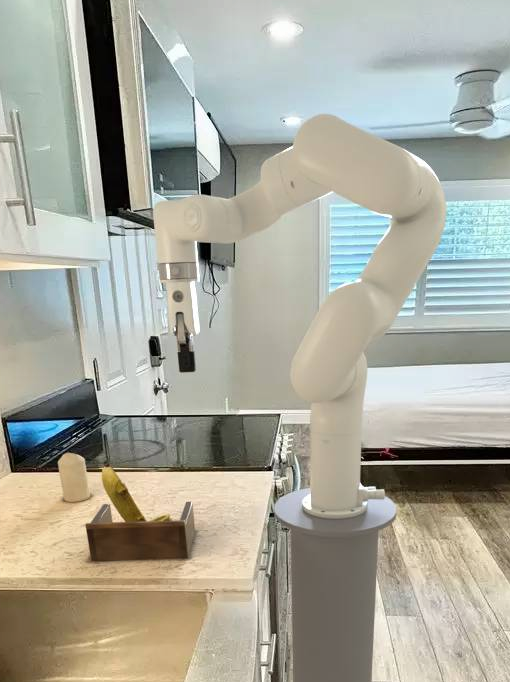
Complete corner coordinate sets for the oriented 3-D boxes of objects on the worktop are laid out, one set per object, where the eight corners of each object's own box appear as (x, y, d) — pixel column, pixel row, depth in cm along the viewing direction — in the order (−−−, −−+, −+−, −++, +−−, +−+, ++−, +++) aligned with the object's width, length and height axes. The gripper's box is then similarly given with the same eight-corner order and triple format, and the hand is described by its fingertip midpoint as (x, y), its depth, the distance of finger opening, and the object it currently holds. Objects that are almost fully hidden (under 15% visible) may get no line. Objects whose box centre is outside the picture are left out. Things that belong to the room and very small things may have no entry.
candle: (95, 495, 126) (89, 452, 123) (76, 503, 122) (68, 459, 118) (78, 491, 129) (71, 449, 125) (58, 499, 125) (50, 455, 121)
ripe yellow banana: (104, 548, 101) (92, 468, 95) (116, 530, 108) (106, 454, 103) (169, 547, 101) (160, 466, 95) (176, 528, 108) (169, 452, 103)
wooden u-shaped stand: (195, 531, 107) (192, 497, 104) (187, 558, 97) (184, 521, 94) (107, 533, 107) (102, 500, 104) (91, 561, 97) (85, 524, 94)
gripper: (195, 272, 102) (203, 376, 109) (201, 273, 116) (208, 365, 123) (153, 274, 102) (164, 378, 109) (164, 275, 116) (173, 367, 123)
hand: (187, 371), depth 116 cm, fingers closed
